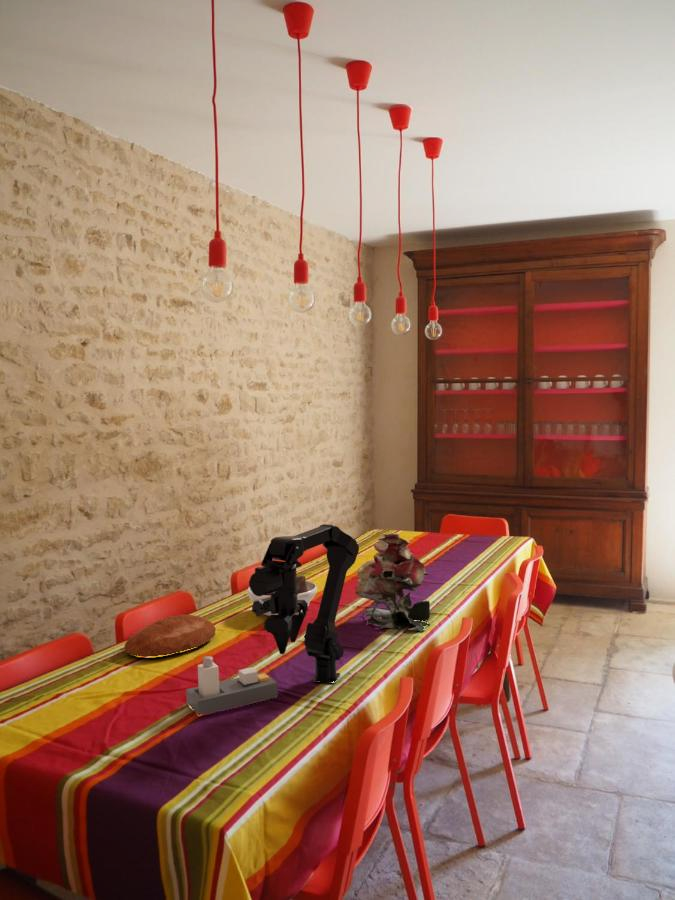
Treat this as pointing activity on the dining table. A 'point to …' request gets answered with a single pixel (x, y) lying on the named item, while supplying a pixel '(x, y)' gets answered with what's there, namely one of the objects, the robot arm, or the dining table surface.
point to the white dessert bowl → (305, 593)
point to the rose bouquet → (393, 584)
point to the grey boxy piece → (234, 692)
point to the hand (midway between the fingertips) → (287, 647)
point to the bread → (170, 636)
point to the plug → (208, 678)
